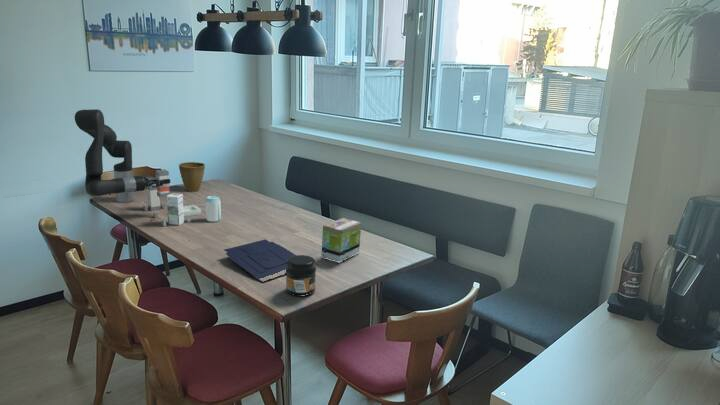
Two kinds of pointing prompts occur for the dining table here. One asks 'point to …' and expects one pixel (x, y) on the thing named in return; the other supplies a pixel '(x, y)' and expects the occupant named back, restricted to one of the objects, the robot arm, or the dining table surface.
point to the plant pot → (192, 175)
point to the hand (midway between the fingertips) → (167, 179)
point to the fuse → (153, 199)
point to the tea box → (341, 239)
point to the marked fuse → (163, 190)
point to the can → (213, 209)
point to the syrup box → (175, 209)
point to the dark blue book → (260, 257)
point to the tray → (191, 210)
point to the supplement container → (300, 275)
